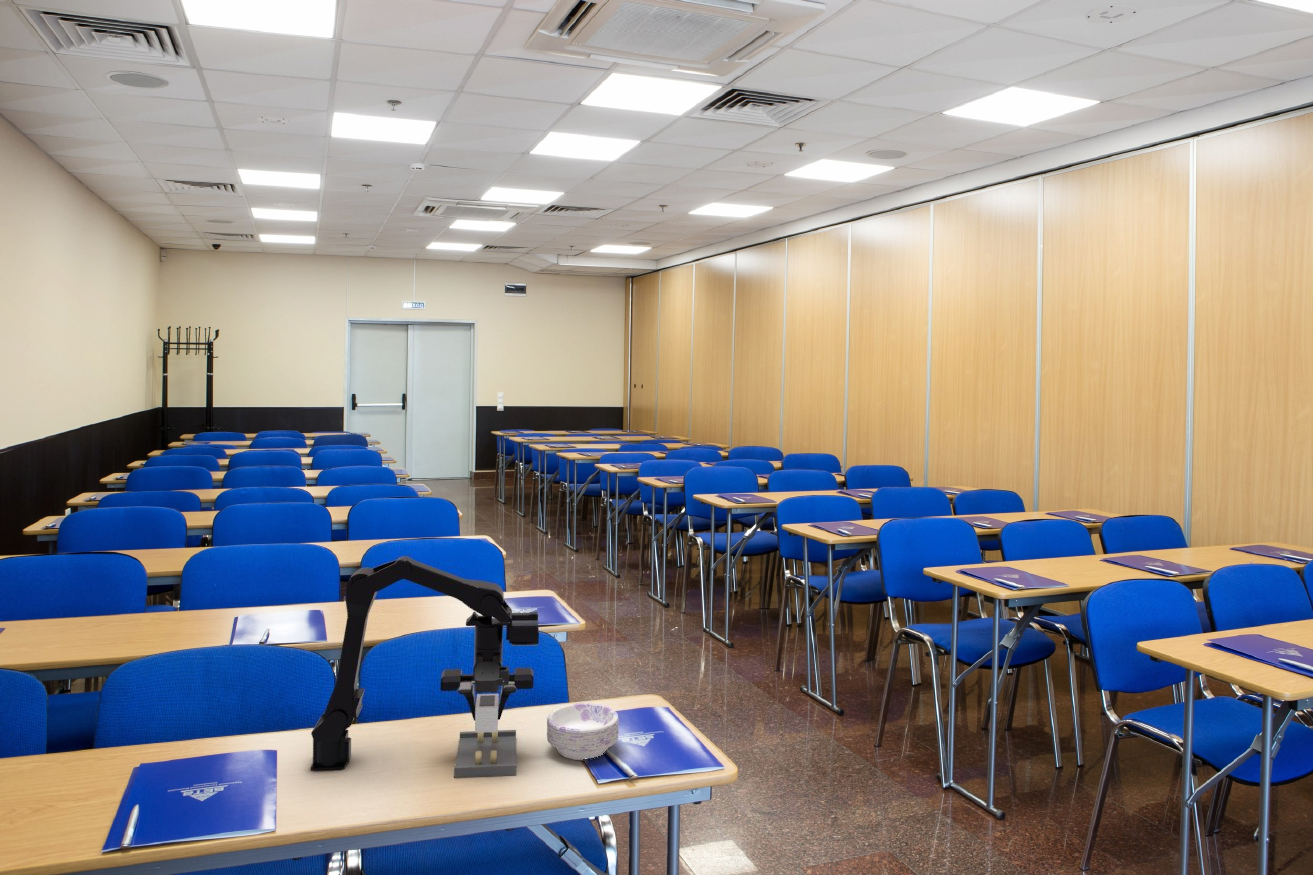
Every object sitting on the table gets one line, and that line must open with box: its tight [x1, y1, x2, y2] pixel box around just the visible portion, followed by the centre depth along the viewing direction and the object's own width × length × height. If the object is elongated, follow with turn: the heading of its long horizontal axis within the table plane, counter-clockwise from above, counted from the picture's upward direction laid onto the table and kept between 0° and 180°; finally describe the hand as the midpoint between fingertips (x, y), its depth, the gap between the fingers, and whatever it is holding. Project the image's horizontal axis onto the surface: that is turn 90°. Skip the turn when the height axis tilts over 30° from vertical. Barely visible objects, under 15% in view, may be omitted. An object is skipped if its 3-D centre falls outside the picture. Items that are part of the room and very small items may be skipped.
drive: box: [474, 693, 500, 732], centre depth 179 cm, size 4×8×5 cm, turn 10°
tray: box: [453, 729, 517, 779], centre depth 179 cm, size 12×18×4 cm, turn 9°
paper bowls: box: [546, 702, 620, 761], centre depth 183 cm, size 15×15×8 cm
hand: (486, 719), depth 179 cm, fingers closed on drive, 4 cm apart
